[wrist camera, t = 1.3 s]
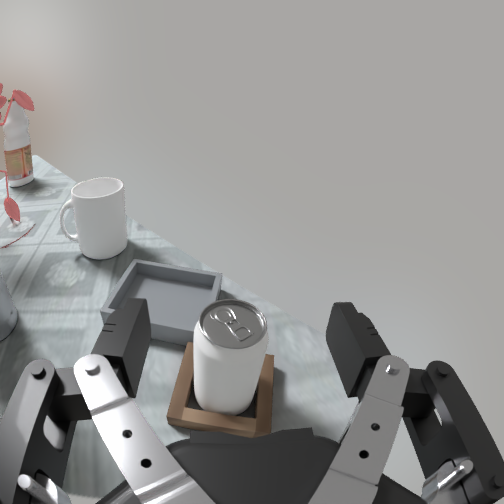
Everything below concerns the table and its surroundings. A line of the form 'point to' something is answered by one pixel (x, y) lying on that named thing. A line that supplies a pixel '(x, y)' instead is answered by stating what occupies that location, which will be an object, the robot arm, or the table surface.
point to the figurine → (9, 203)
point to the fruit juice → (17, 146)
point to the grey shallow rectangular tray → (166, 297)
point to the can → (228, 355)
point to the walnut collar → (216, 421)
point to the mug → (98, 217)
